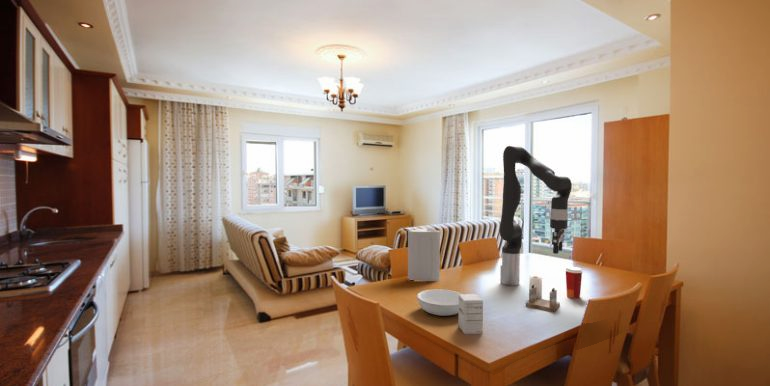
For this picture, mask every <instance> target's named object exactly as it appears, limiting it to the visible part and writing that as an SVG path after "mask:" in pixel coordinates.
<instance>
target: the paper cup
mask: <svg viewBox="0 0 770 386" xmlns="http://www.w3.org/2000/svg"><path fill="white" fill-rule="evenodd" d="M564 272H565V283H566V284H565V285H566V288H565V289H566V297H567V298H570V299H573V300H576V299H577V300H578V299H580V297H581V289H582V288H581V287H582V275H583V272H584V271H583V269H582V268H581V267H576V266H575V267H574V266H567V267H565V269H564Z"/></svg>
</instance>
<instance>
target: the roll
mask: <svg viewBox="0 0 770 386" xmlns="http://www.w3.org/2000/svg"><path fill="white" fill-rule="evenodd" d="M528 278H529V279H528V280H529V284H528V286H529V287H528V290H529V289H530V288H531V287H532V285H534V286H536V287H537V289H536V298H539V299H542V298H543V297H542V295H543V277H542V276H538V275H530V276H529V277H528Z"/></svg>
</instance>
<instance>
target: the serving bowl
mask: <svg viewBox="0 0 770 386" xmlns="http://www.w3.org/2000/svg"><path fill="white" fill-rule="evenodd" d="M459 295H463V294H462V293H460V292H458V291H454V290H450V289H449V290H448V289H439V288H436V289H433V288H432V289H426V290H423V291H420V292H419V293H417V301H418V305H419V306H420V308H421V309H422V310H423V311H425V312H427V313H428V314H432V315H436V316H442V317H445V316H447V317H449V316H454V315H457V314H459Z"/></svg>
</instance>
